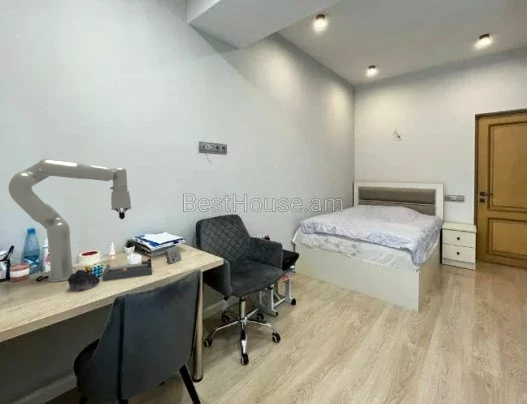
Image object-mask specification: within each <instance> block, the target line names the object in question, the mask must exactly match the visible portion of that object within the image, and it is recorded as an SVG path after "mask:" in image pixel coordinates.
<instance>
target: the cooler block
mask: <svg viewBox="0 0 527 404" xmlns="http://www.w3.org/2000/svg"><path fill="white" fill-rule="evenodd" d="M146 261H148V265H145V266H138V267H130V268H123V269H115V270H109V267H111V264H106V267H105V268H104V270H103V272H102V281H103V282H108V281H116V280H122V279H129V278H136V277H142V276H143V277H144V276H151V275H153V271H152V270H153V267H152V266H153V265H152V258H147V260H146Z"/></svg>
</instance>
